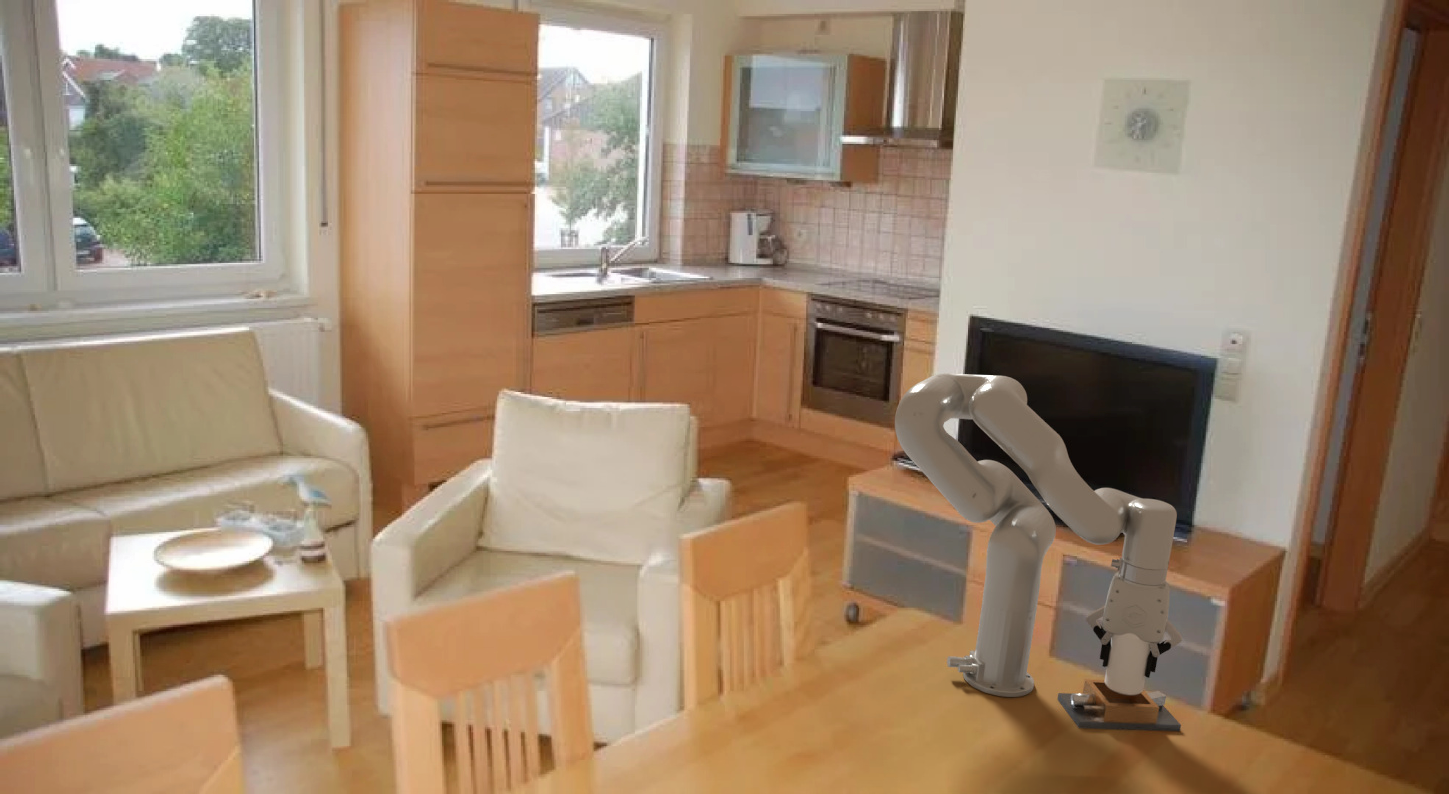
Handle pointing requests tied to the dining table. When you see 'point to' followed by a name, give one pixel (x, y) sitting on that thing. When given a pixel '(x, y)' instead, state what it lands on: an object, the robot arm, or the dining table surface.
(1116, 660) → the can
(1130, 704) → the base
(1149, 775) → the dining table surface
